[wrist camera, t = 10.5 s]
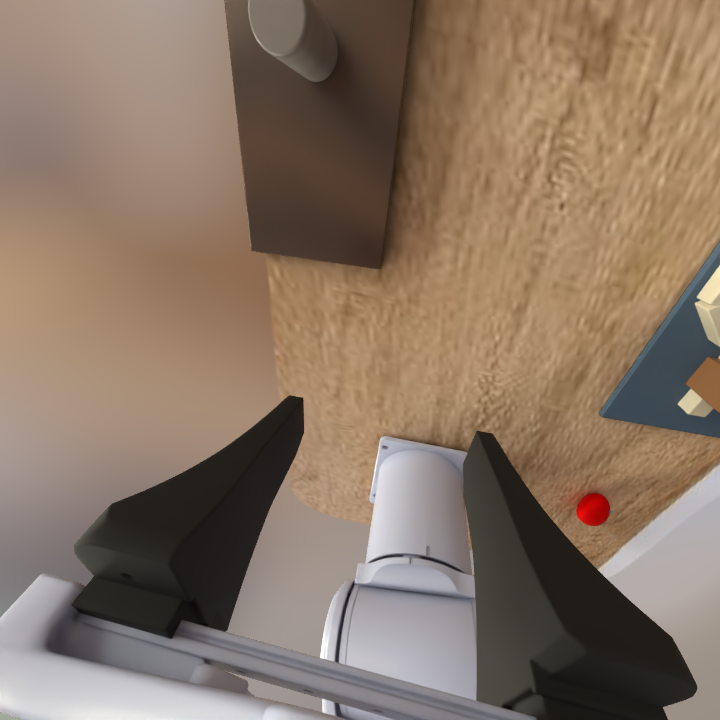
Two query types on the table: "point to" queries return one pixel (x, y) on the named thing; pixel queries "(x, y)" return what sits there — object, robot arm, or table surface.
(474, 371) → the table surface
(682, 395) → the mat
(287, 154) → the peg stand
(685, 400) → the octagonal ring with handle
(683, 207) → the table surface
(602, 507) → the candy
